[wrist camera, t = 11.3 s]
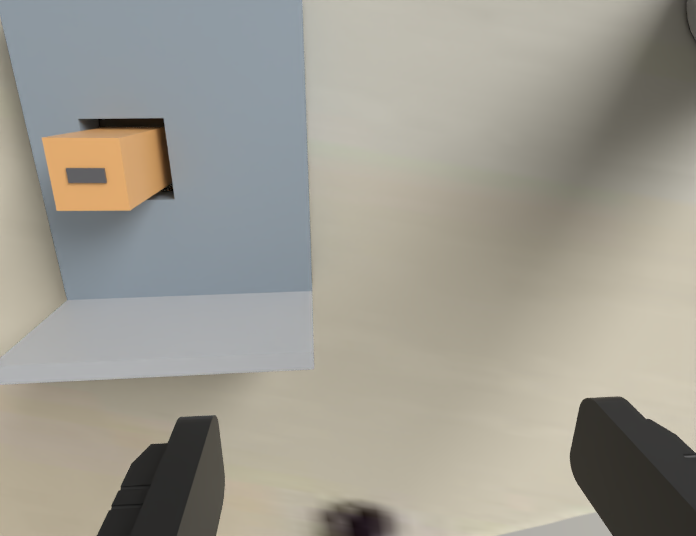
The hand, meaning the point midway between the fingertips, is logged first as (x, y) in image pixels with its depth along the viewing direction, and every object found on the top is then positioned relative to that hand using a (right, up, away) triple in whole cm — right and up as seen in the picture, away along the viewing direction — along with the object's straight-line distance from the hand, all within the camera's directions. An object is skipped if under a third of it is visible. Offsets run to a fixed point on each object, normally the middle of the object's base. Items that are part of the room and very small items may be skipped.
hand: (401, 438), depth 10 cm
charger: (-16, +12, +24) cm, 31 cm away
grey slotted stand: (-13, +12, +24) cm, 30 cm away
